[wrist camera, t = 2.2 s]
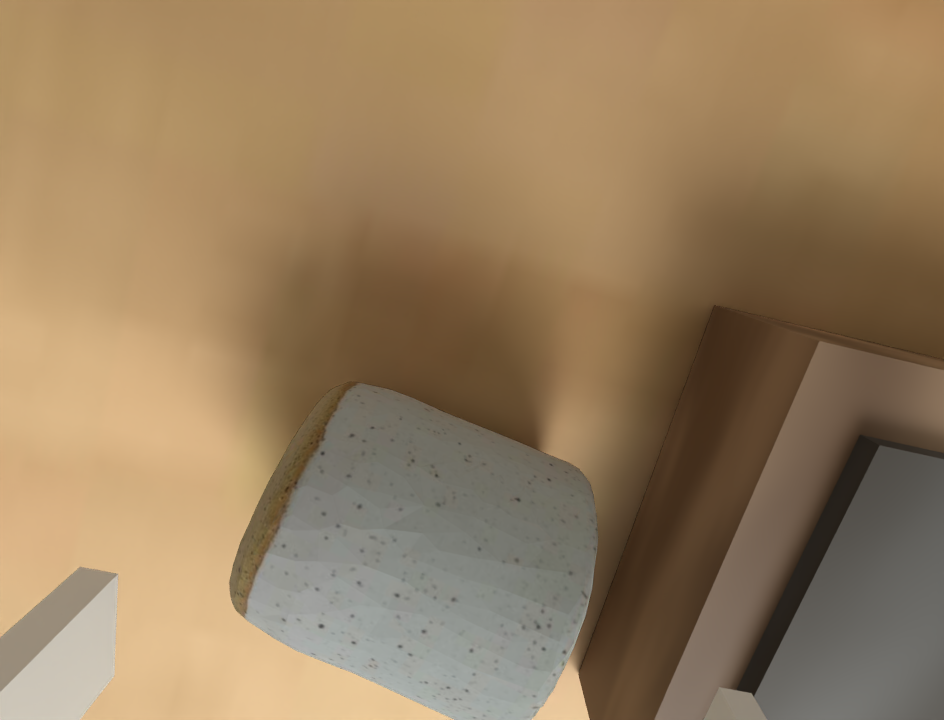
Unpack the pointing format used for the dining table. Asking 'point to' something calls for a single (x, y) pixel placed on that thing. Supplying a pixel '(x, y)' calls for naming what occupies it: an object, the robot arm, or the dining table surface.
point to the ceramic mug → (422, 555)
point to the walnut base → (785, 537)
